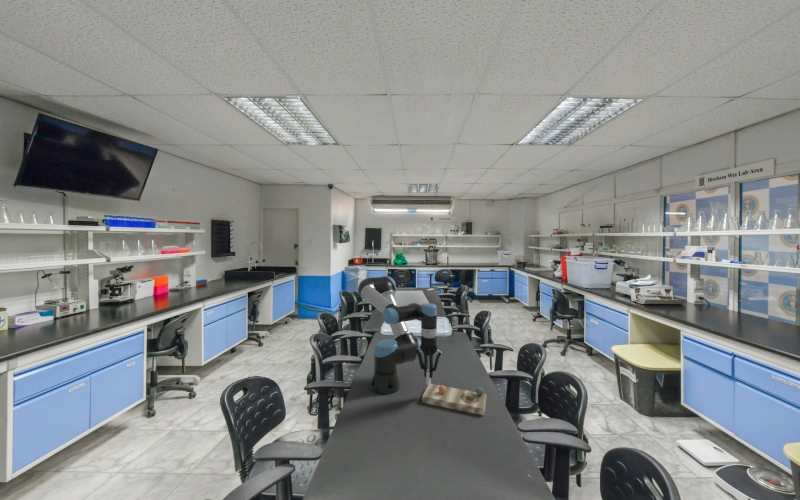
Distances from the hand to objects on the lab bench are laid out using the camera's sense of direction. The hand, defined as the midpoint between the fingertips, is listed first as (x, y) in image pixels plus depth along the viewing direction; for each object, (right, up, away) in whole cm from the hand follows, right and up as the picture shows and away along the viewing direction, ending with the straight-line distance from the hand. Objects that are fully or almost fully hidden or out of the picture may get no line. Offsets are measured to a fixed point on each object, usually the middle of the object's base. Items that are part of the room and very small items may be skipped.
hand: (428, 383), depth 145 cm
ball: (+6, -2, -2) cm, 7 cm away
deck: (+12, -7, -4) cm, 14 cm away
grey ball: (+24, -2, -4) cm, 24 cm away
